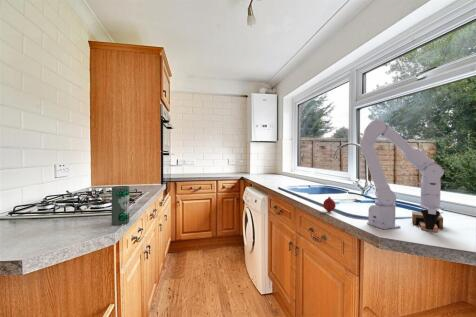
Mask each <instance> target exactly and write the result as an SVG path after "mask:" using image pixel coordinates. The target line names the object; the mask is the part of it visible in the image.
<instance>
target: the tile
mask: <svg viewBox="0 0 476 317" xmlns="http://www.w3.org/2000/svg"><path fill="white" fill-rule="evenodd" d="M419 228H420V230H423V231H426V232H427V231H428V232H433V233H435V232H436V233H438V231H439V227H438V225H436V224H435V226H434V229H433V230H430V229H426V227H425V222H420V223H419Z"/></svg>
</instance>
